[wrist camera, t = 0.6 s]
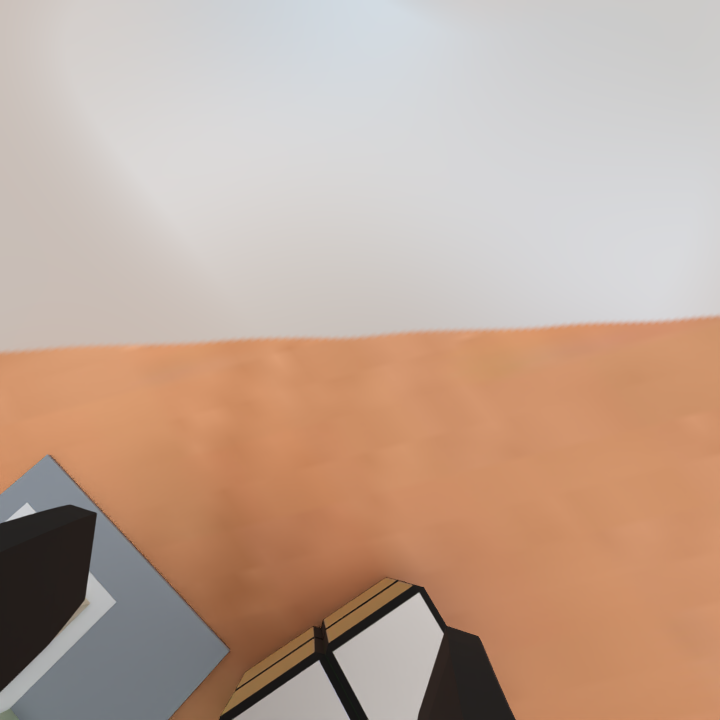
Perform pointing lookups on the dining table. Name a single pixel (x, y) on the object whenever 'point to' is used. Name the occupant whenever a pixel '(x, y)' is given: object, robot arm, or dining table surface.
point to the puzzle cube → (350, 663)
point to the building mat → (109, 627)
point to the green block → (8, 715)
